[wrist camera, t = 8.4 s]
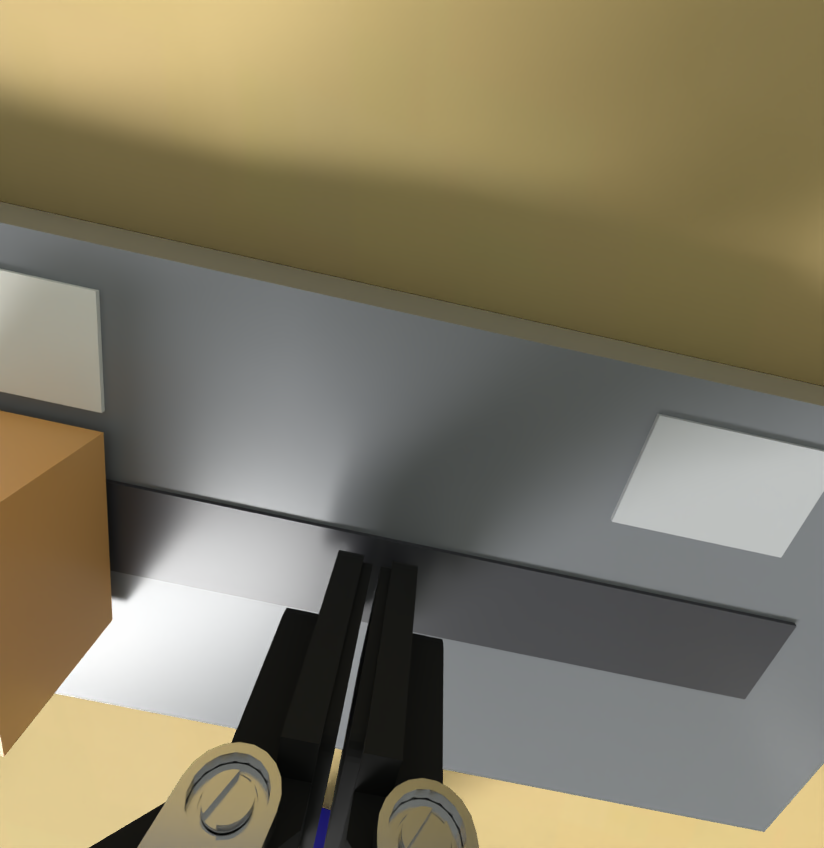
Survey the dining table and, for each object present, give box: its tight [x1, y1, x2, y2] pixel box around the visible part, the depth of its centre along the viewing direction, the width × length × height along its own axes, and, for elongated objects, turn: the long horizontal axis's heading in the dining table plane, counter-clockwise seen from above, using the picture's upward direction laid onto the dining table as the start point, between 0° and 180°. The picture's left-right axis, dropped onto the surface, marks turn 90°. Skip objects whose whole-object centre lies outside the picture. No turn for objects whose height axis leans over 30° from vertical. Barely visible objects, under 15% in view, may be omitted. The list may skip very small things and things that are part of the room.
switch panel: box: [0, 202, 824, 832], centre depth 12 cm, size 26×12×2 cm, turn 78°
